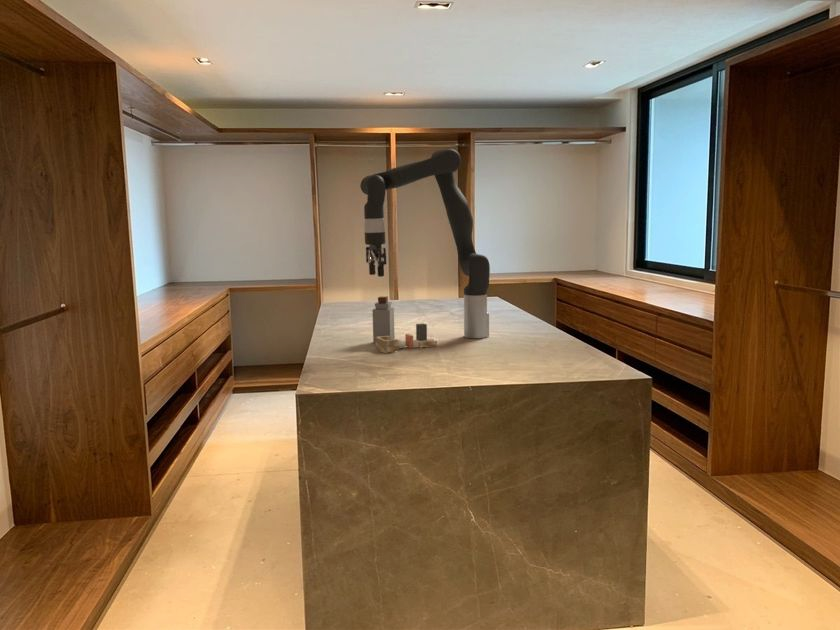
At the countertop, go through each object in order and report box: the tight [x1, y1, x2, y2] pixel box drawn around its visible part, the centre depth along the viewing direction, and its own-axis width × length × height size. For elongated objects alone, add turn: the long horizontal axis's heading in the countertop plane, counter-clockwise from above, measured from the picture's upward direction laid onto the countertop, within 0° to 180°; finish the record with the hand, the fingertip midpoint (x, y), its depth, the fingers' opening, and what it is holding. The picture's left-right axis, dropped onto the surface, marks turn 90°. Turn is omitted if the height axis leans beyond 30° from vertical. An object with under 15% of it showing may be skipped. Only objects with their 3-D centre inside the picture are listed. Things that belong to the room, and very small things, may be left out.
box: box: [375, 336, 400, 354], centre depth 238 cm, size 5×9×4 cm, turn 25°
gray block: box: [404, 323, 435, 349], centre depth 243 cm, size 10×4×8 cm, turn 115°
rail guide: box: [418, 339, 438, 349], centre depth 244 cm, size 7×6×2 cm
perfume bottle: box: [371, 296, 395, 344], centre depth 250 cm, size 7×7×18 cm
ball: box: [398, 338, 406, 349], centre depth 240 cm, size 4×4×4 cm
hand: (376, 275), depth 238 cm, fingers open, 8 cm apart
